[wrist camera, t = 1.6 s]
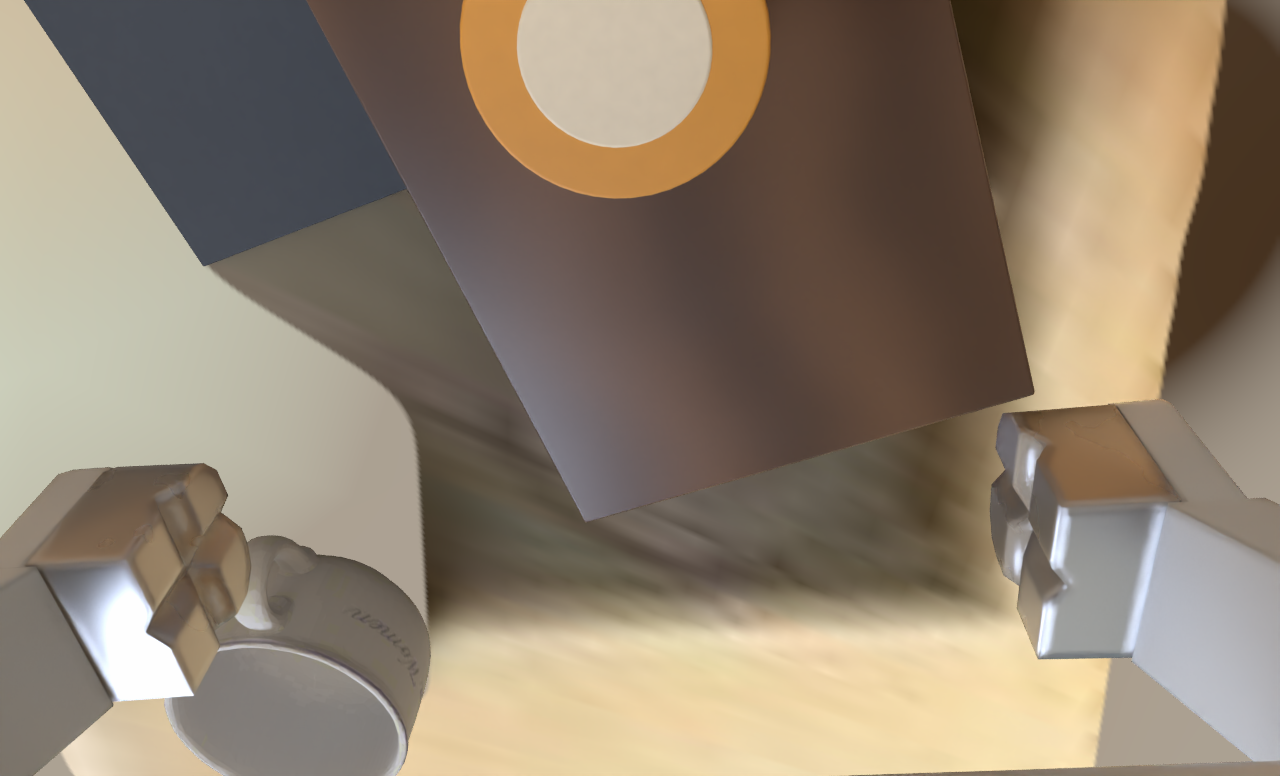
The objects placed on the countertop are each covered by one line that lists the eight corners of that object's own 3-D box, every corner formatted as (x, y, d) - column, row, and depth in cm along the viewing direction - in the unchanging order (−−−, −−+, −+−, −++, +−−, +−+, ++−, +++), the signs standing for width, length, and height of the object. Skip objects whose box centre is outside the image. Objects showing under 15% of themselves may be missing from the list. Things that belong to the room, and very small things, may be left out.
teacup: (440, 689, 53) (405, 822, 46) (237, 663, 53) (171, 795, 46) (450, 485, 46) (410, 609, 39) (214, 454, 45) (132, 573, 38)
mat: (303, -177, 32) (299, -177, 31) (469, 161, 37) (468, 164, 37) (8, -33, 34) (2, -31, 34) (207, 263, 40) (203, 266, 40)
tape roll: (704, -190, 21) (711, -182, 17) (787, 80, 24) (809, 141, 20) (451, -77, 22) (401, -45, 18) (559, 165, 25) (537, 239, 21)
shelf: (791, -371, 29) (853, -453, 18) (941, 230, 38) (1036, 395, 28) (372, -170, 32) (227, -145, 22) (608, 339, 41) (585, 524, 31)
